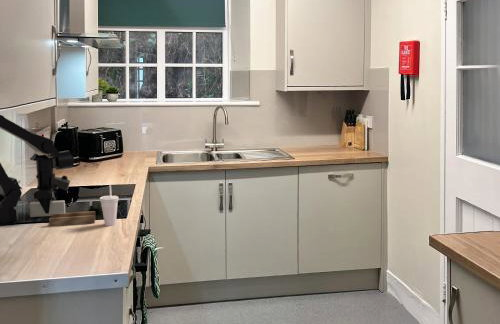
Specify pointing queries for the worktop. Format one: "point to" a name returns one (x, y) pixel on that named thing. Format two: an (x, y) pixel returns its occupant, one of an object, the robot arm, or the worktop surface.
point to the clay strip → (54, 208)
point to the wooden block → (72, 218)
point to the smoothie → (109, 208)
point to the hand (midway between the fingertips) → (47, 212)
